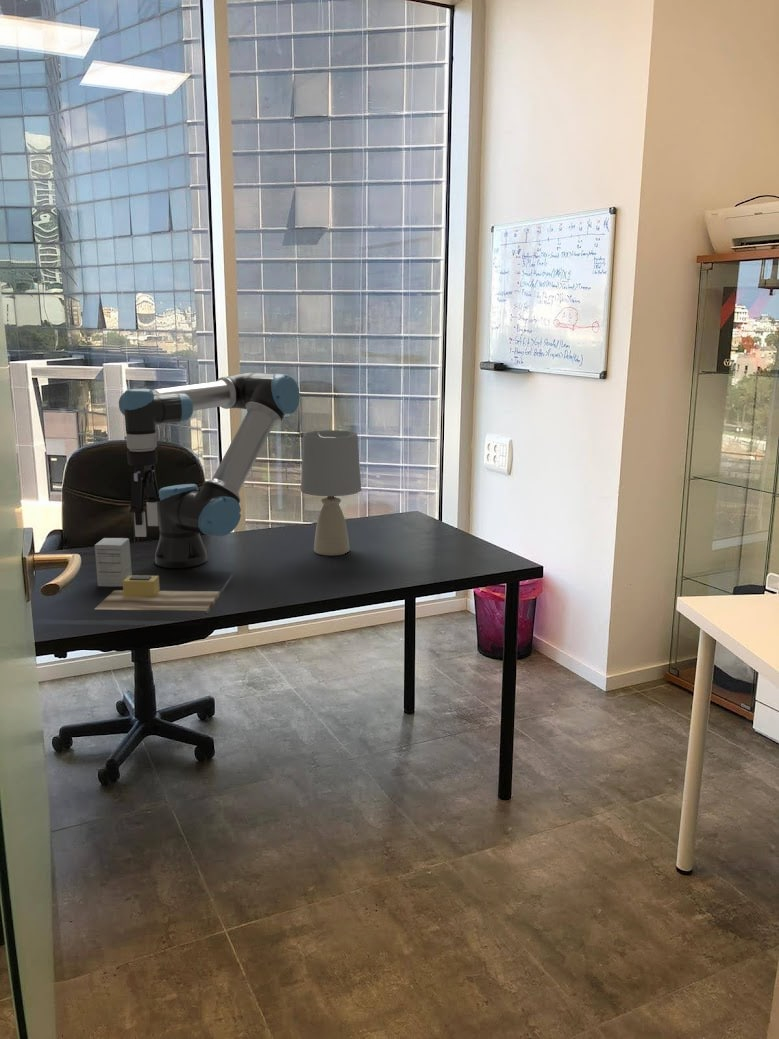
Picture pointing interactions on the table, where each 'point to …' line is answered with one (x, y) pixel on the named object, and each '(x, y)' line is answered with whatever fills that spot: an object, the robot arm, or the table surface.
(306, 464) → the lamp
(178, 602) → the plywood panel
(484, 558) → the table surface
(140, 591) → the block
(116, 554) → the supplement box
